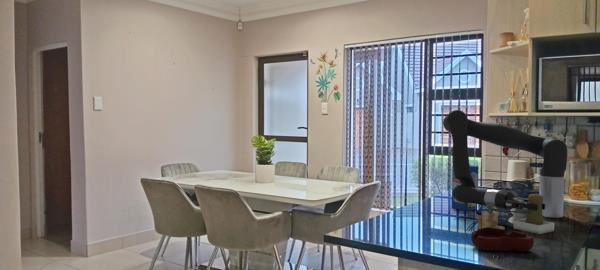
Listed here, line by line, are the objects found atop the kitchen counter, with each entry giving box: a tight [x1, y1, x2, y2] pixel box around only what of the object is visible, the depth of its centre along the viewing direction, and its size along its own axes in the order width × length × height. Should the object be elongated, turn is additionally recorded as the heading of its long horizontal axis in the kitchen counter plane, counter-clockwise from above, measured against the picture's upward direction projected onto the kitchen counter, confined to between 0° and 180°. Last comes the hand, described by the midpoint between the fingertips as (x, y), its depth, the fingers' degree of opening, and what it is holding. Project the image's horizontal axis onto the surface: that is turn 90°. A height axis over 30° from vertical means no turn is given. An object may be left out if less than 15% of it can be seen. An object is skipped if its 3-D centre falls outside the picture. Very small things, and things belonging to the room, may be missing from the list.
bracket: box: [477, 204, 506, 230], centre depth 176 cm, size 10×5×9 cm, turn 124°
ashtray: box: [470, 227, 535, 254], centre depth 151 cm, size 18×16×5 cm
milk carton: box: [450, 164, 480, 212], centre depth 216 cm, size 10×6×20 cm, turn 25°
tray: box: [512, 218, 555, 235], centre depth 176 cm, size 10×10×3 cm
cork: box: [525, 193, 544, 225], centre depth 175 cm, size 6×6×11 cm
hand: (541, 207), depth 174 cm, fingers closed on cork, 4 cm apart
